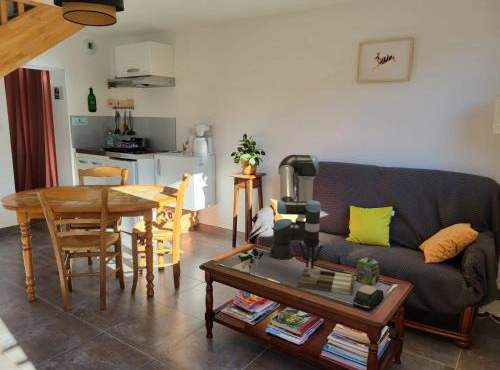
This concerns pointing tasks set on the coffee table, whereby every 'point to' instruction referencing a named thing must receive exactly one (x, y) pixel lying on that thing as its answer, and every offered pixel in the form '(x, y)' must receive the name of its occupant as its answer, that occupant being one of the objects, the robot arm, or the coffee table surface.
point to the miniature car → (368, 296)
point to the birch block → (315, 272)
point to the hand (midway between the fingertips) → (309, 273)
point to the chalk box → (368, 270)
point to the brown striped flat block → (328, 282)
